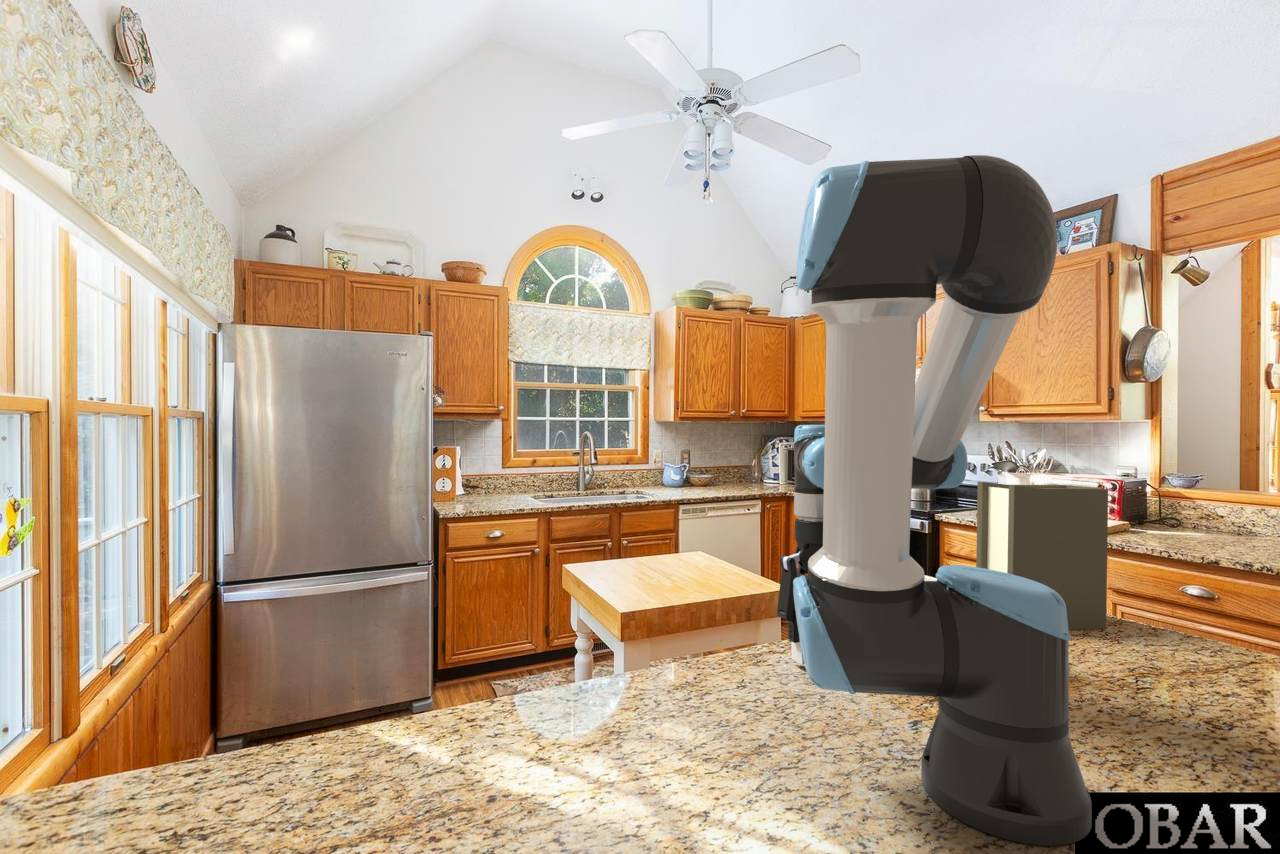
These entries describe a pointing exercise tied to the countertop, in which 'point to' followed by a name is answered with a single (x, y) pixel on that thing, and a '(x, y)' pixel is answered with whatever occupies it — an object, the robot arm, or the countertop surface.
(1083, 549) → the book
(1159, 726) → the countertop surface
